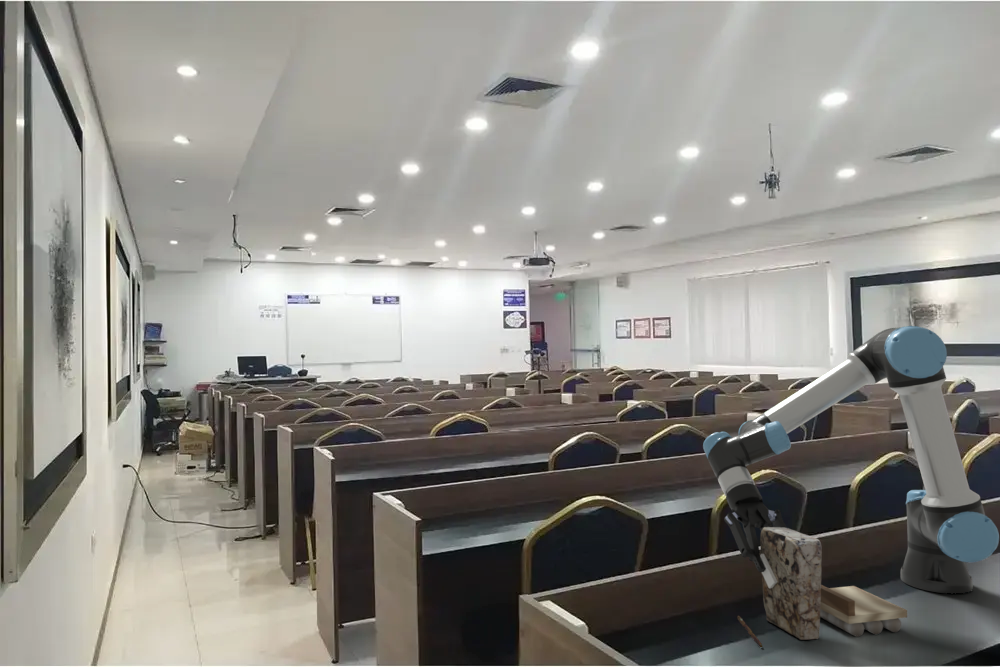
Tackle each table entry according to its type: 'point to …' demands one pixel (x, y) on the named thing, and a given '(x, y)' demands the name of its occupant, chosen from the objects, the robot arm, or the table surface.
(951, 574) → the robot arm
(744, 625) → the dark brown thin bar
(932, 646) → the table surface
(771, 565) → the stone block
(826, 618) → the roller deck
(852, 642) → the table surface
